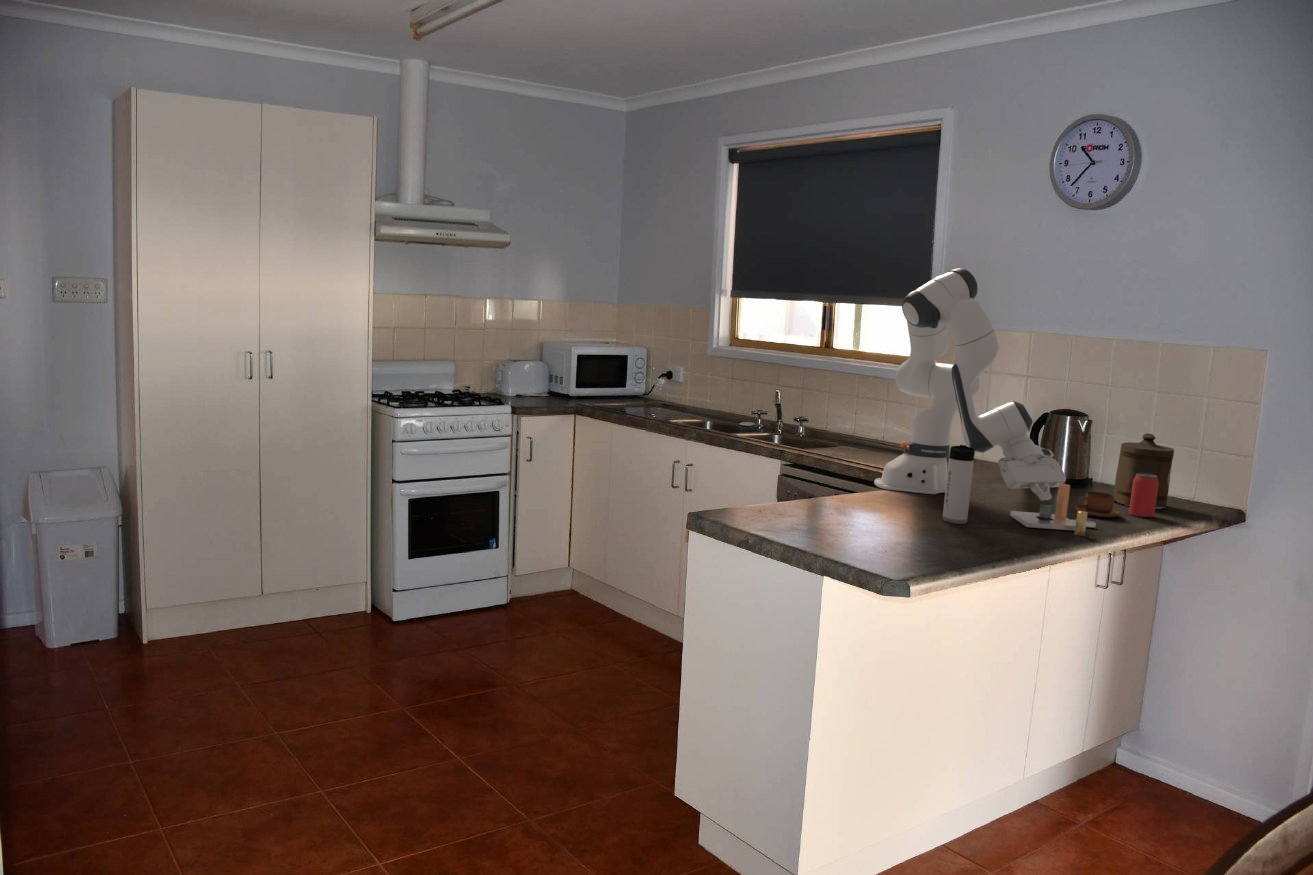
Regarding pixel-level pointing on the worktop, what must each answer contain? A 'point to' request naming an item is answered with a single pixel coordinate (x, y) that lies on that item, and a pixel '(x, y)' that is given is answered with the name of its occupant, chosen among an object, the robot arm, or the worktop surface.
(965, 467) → the travel mug
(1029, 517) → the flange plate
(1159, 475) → the wooden container
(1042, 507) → the grey rectangular block
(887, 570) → the worktop surface
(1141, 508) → the beer can
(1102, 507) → the cup and saucer
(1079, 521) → the brass dowel
